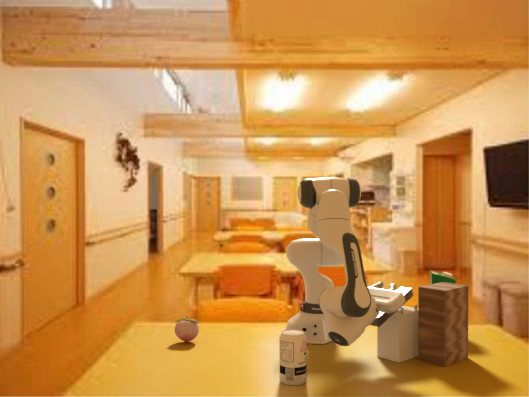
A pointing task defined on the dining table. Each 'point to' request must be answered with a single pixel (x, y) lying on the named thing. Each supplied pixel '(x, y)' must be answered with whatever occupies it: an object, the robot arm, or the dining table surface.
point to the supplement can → (293, 357)
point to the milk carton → (441, 277)
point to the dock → (399, 335)
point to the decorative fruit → (186, 329)
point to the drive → (385, 316)
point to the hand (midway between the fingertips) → (387, 283)
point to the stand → (442, 323)
